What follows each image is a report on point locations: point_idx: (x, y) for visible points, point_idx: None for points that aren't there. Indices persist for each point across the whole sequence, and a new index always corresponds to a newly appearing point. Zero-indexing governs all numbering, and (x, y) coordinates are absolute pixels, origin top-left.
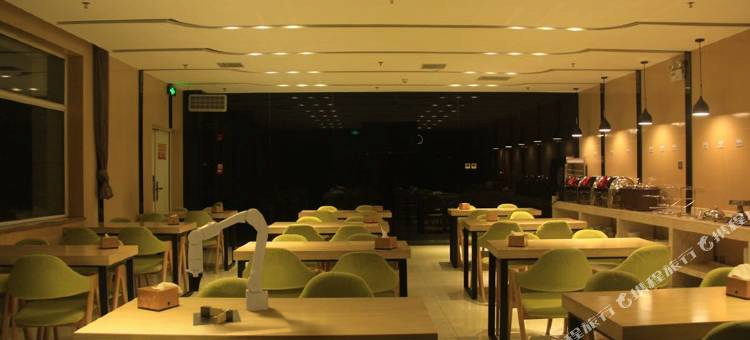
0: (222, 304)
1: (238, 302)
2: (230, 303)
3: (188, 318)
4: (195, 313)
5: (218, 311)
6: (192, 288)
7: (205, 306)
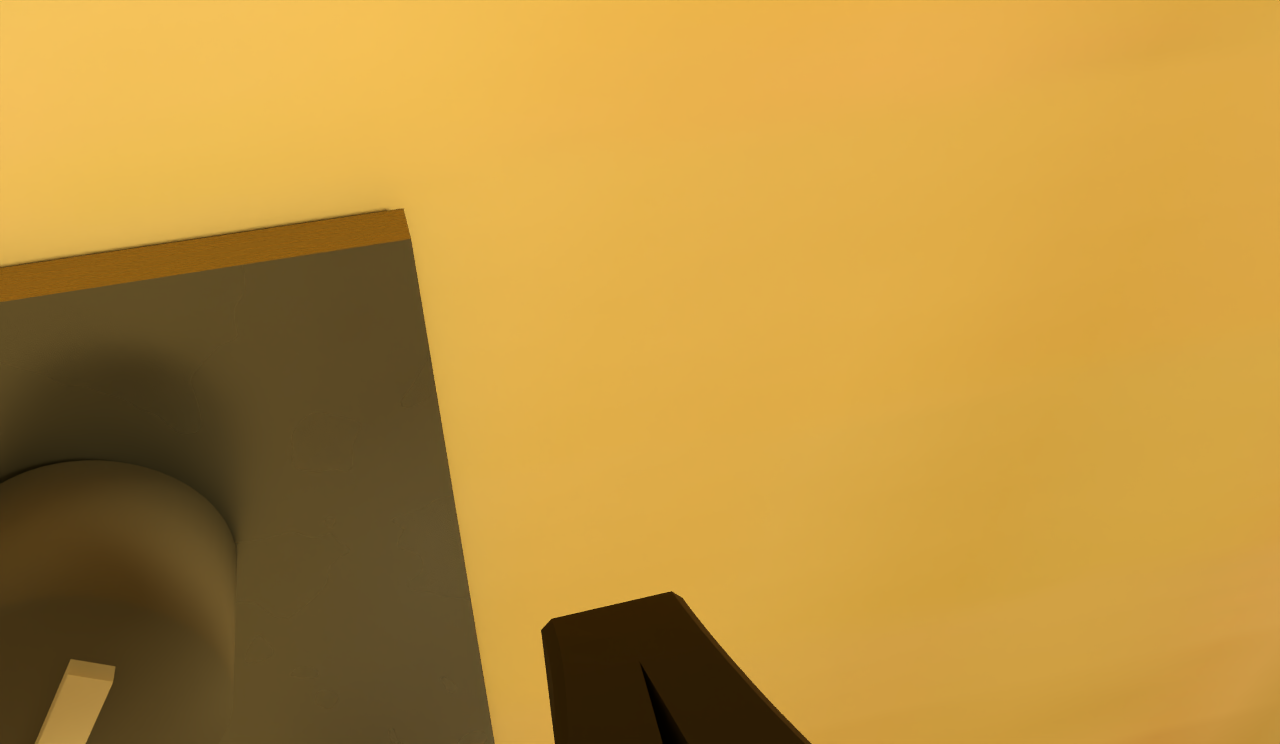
0: (1215, 533)
1: (1211, 703)
2: (1213, 623)
3: (174, 117)
4: (331, 300)
5: None
6: (562, 718)
7: (51, 717)
